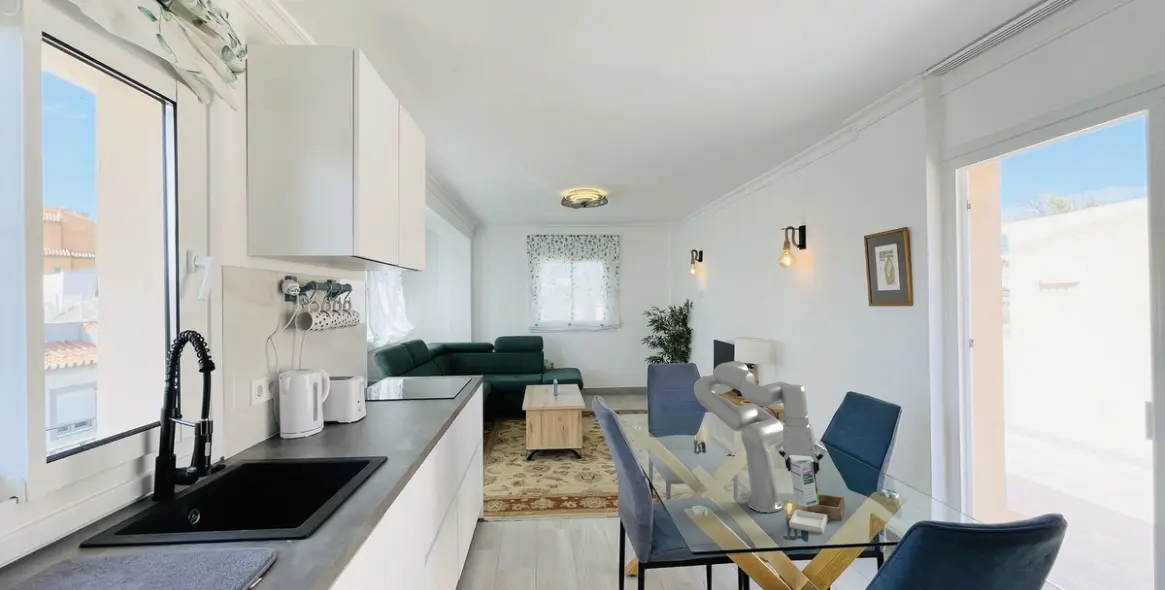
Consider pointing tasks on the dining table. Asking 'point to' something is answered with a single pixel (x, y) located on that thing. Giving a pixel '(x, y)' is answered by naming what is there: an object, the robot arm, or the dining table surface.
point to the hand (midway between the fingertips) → (802, 471)
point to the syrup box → (804, 482)
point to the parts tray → (808, 521)
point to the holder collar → (829, 506)
